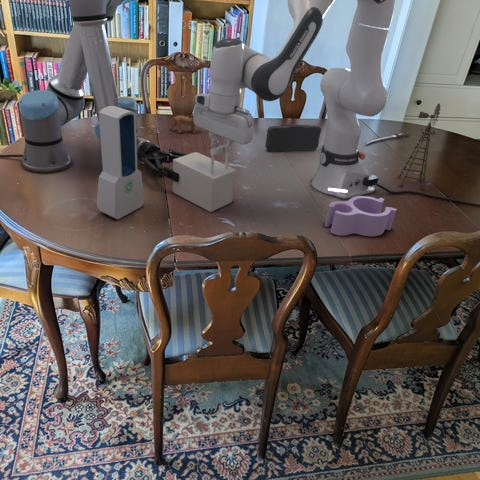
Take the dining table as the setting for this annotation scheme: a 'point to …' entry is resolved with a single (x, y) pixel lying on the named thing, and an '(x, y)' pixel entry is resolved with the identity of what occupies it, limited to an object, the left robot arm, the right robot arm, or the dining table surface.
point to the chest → (203, 189)
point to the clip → (359, 216)
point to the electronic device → (119, 164)
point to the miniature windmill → (428, 131)
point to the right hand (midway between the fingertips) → (220, 149)
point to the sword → (385, 138)
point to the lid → (206, 165)
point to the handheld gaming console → (292, 137)
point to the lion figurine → (184, 121)
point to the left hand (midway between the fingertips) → (190, 173)
